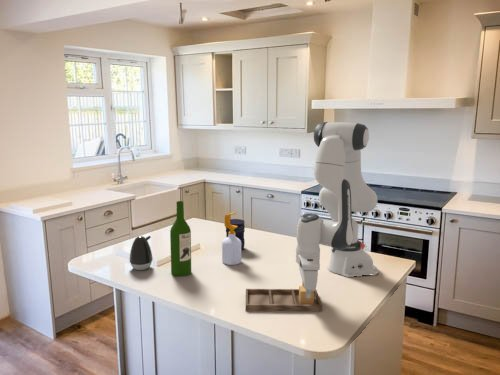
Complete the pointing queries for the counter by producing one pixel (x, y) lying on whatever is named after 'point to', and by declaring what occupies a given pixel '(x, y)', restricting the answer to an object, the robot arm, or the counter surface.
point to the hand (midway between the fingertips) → (306, 291)
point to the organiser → (279, 300)
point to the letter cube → (303, 296)
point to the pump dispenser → (141, 253)
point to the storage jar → (238, 230)
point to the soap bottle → (231, 245)
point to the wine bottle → (180, 244)
